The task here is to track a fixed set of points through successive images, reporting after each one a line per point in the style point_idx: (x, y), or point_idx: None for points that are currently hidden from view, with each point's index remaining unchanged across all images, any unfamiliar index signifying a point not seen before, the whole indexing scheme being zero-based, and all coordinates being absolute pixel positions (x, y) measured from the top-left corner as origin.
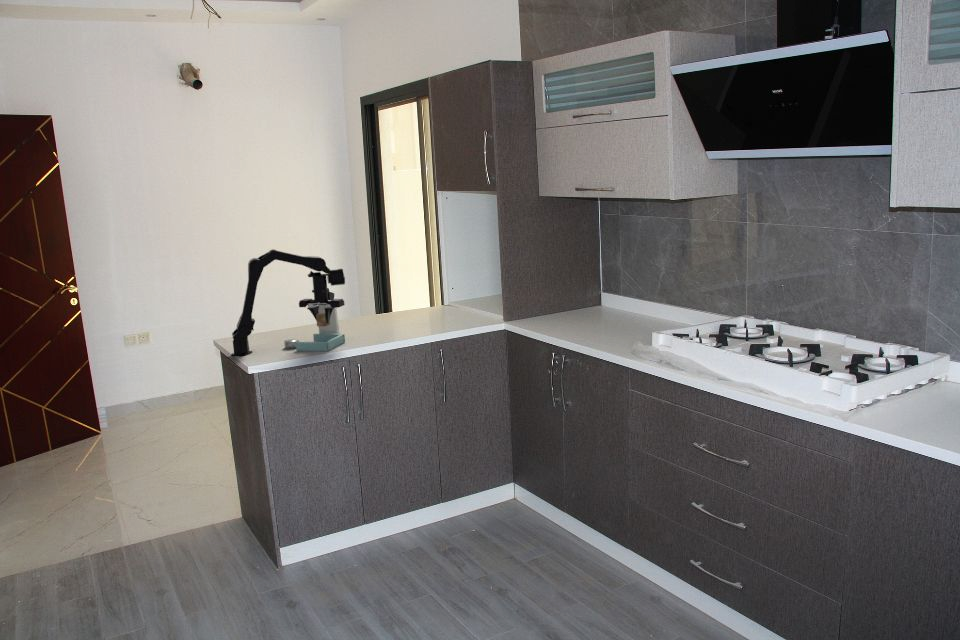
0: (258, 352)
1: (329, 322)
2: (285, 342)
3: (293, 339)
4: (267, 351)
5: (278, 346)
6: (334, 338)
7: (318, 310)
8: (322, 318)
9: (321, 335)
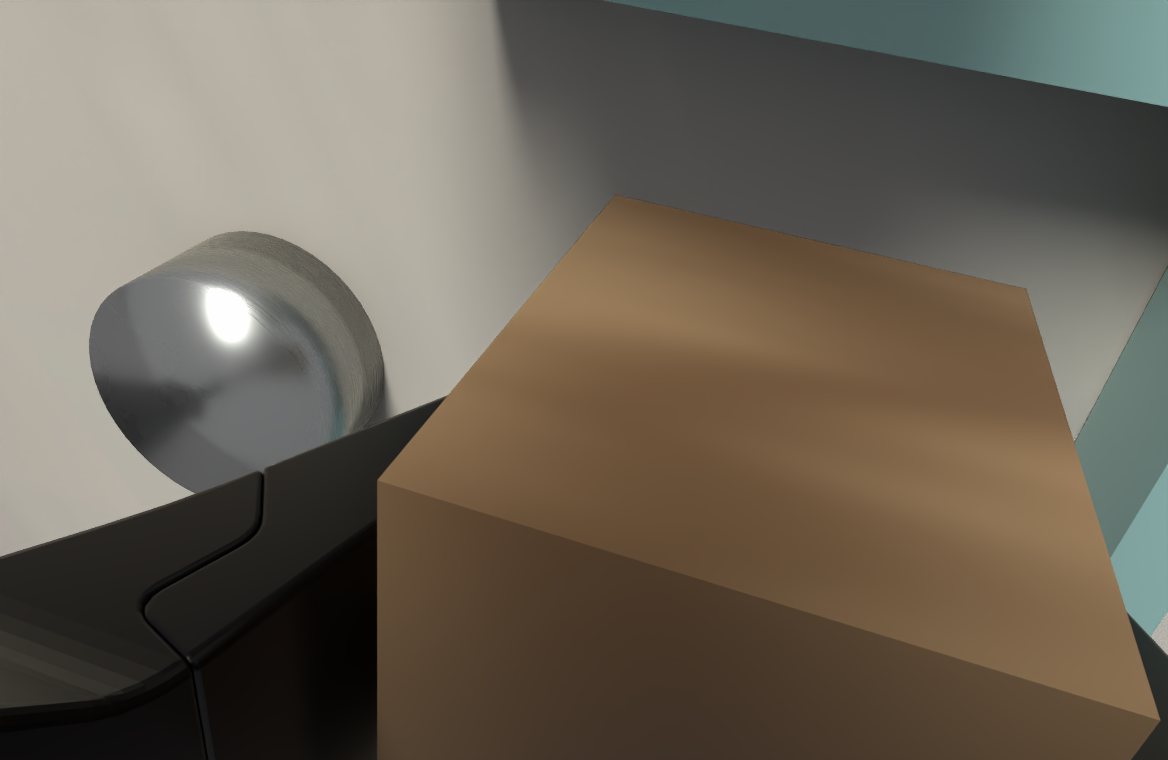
0: (22, 515)
1: (1027, 351)
2: (170, 474)
3: (170, 294)
4: (89, 495)
5: (28, 233)
6: (1146, 587)
7: (176, 692)
8: None
9: (654, 4)
